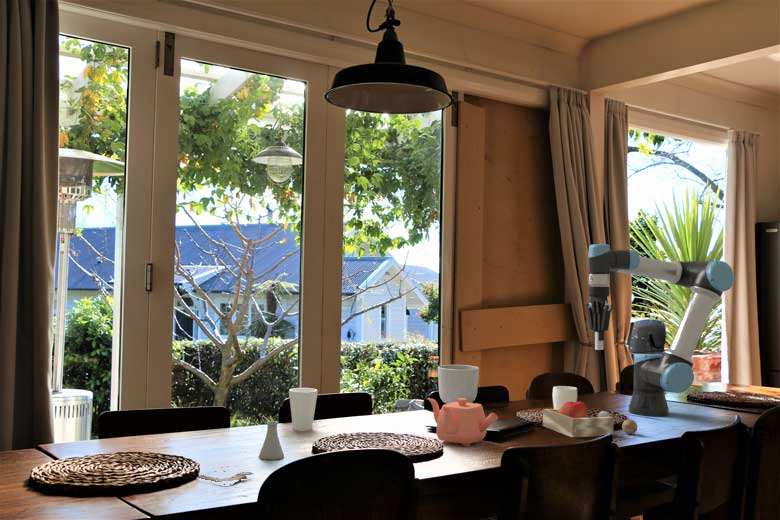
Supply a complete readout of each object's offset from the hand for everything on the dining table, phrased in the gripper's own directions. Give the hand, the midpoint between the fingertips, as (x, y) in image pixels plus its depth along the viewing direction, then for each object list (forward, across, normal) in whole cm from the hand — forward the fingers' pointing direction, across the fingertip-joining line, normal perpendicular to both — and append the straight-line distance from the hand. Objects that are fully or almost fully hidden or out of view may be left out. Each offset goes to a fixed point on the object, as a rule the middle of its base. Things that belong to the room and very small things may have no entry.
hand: (599, 349), depth 284 cm
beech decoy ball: (+27, +21, -4) cm, 34 cm away
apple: (+26, +10, -19) cm, 34 cm away
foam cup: (+24, -17, -109) cm, 113 cm away
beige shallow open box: (+26, +12, -18) cm, 34 cm away
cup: (+27, -6, -11) cm, 30 cm away
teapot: (+25, +17, -67) cm, 73 cm away
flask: (+24, +19, -128) cm, 131 cm away
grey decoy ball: (+27, +4, -1) cm, 27 cm away
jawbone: (+24, +35, -146) cm, 152 cm away
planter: (+26, -46, -35) cm, 64 cm away
